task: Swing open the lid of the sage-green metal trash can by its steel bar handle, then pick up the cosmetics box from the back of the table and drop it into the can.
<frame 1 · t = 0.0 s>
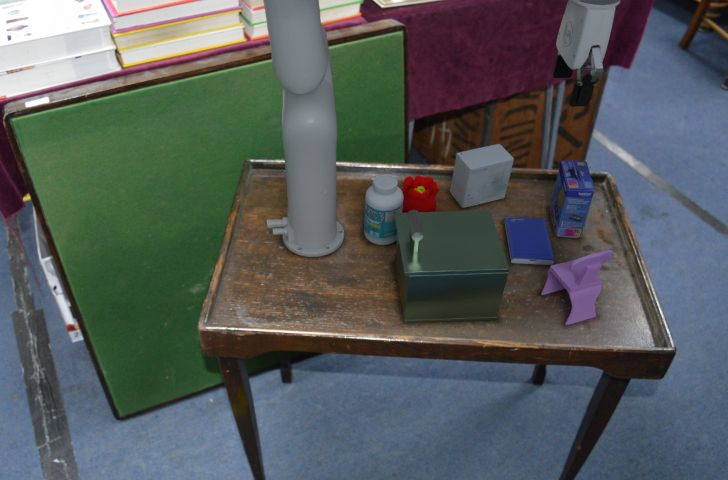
hand: (569, 91, 114), 31 cm above the table, tool pointing down, fingers open, 9 cm apart
toy chair: (567, 304, 121), on the table
hard drive: (527, 244, 133), on the table
ink cartridge box: (563, 223, 137), on the table
pill bottle: (381, 235, 135), on the table
can lid: (450, 231, 113), point 15 cm above the table, hinge at 0.0°
trash can: (443, 290, 124), on the table
flower: (417, 215, 140), on the table
cosmetics box: (477, 196, 144), on the table
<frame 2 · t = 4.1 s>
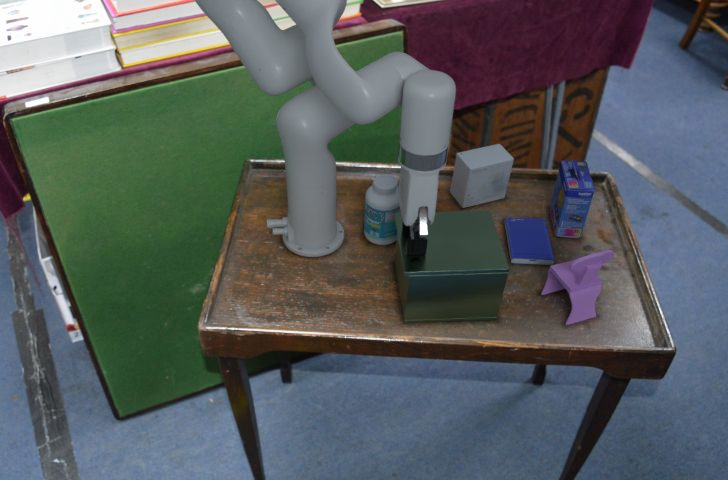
hand: (413, 239, 114), 13 cm above the table, tool pointing down, fingers closed on can lid, 6 cm apart
can lid: (450, 231, 113), point 15 cm above the table, hinge at 0.0°, touching gripper
everything else where it was.
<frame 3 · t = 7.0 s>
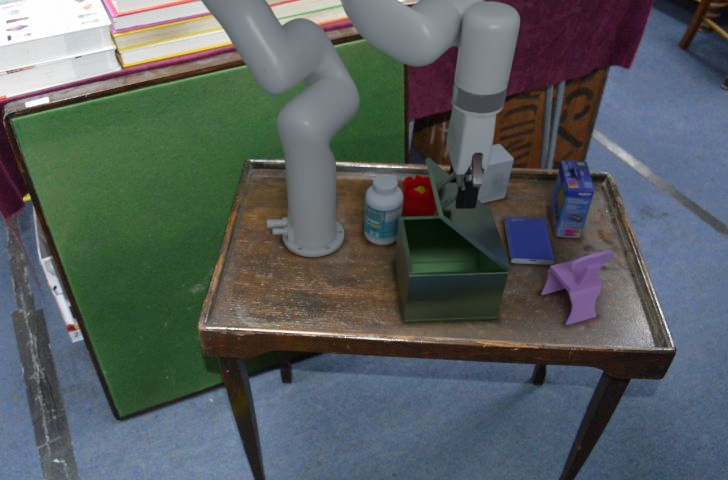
hand: (461, 193, 108), 23 cm above the table, tool pointing down, fingers closed on can lid, 6 cm apart
can lid: (478, 205, 110), point 20 cm above the table, hinge at 43.7°, touching gripper
everything else where it was.
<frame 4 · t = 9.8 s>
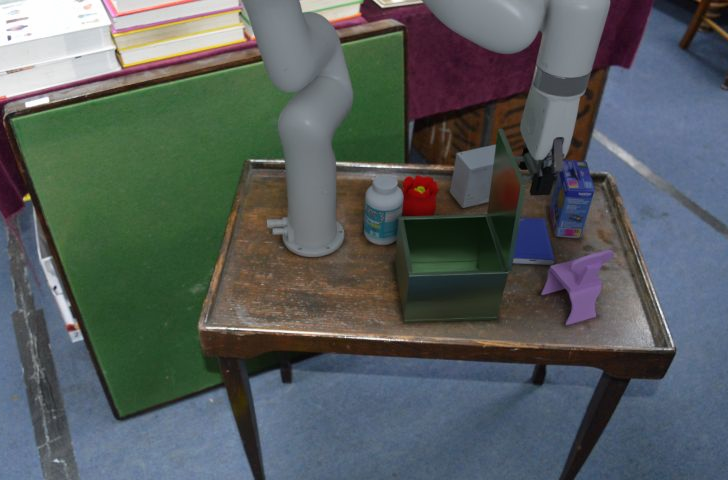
hand: (534, 180, 106), 25 cm above the table, tool pointing down, fingers closed on can lid, 6 cm apart
can lid: (518, 199, 109), point 21 cm above the table, hinge at 86.7°, touching gripper
everything else where it was.
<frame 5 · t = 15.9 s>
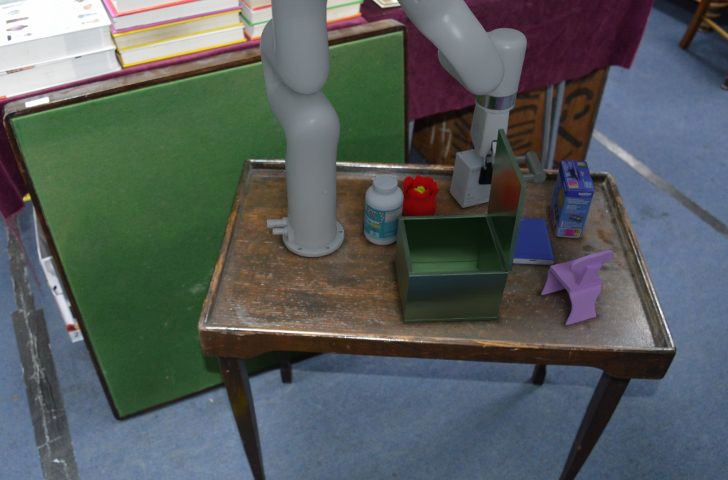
hand: (482, 171, 139), 6 cm above the table, tool pointing down, fingers closed on cosmetics box, 7 cm apart
can lid: (518, 199, 109), point 21 cm above the table, hinge at 87.0°
cosmetics box: (477, 196, 144), on the table, touching gripper
everything else where it was.
when the fingers open (14 cm above the table, at t = 24.1 s): cosmetics box drops 7 cm, resting on trash can.
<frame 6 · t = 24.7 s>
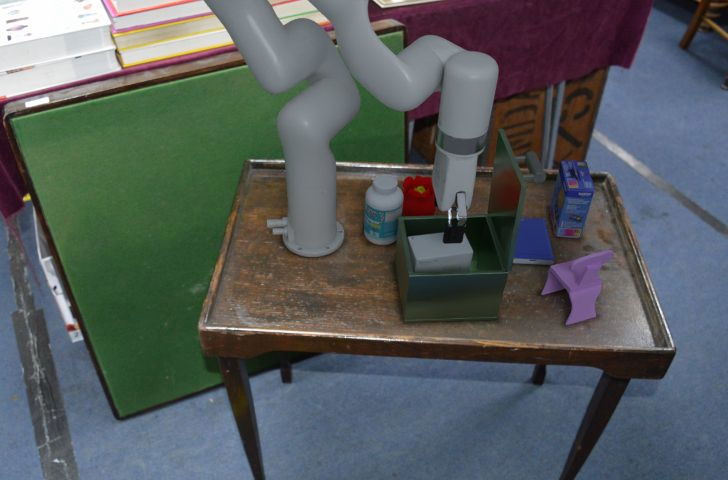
hand: (447, 223, 112), 16 cm above the table, tool pointing down, fingers open, 9 cm apart
cosmetics box: (433, 286, 124), point 1 cm above the table, touching trash can
everything else where it was.
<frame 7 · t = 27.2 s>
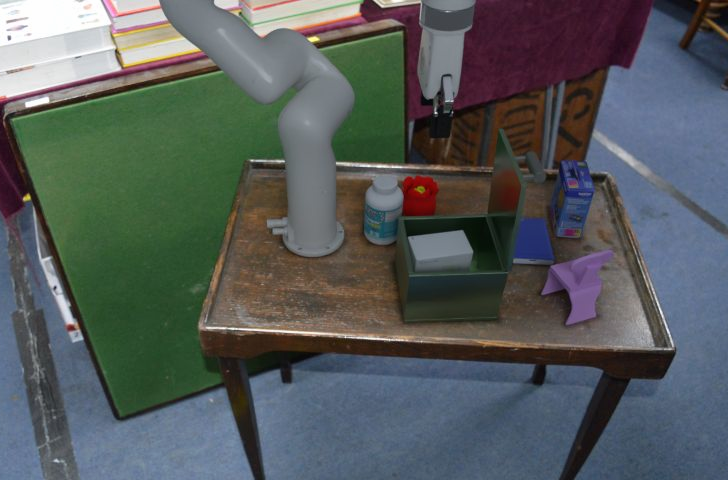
hand: (434, 120, 105), 32 cm above the table, tool pointing down, fingers open, 9 cm apart
nothing on the table moved.
at the end: can lid at +87° (first picture: +0°); cosmetics box inside the target area in the trash can (1.9 cm from its centre), point 0.6 cm above the trash can's base; the gripper is holding nothing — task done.
